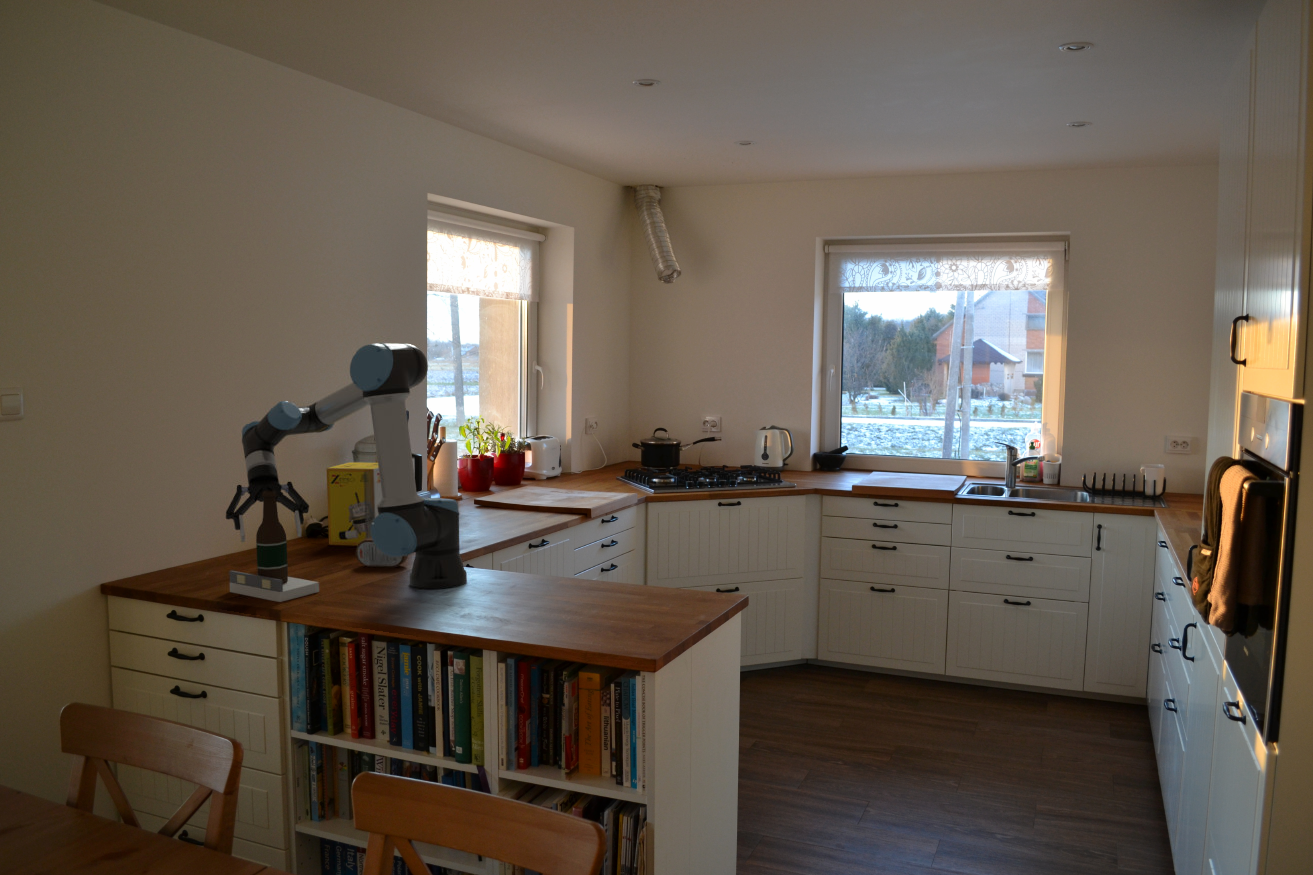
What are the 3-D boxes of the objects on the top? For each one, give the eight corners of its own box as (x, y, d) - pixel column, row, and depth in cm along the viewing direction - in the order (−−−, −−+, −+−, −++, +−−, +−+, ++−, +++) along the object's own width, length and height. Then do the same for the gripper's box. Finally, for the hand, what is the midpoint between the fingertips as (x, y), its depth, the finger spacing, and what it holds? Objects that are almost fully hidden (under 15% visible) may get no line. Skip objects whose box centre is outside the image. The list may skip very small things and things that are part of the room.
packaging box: (376, 546, 309) (373, 468, 307) (329, 544, 312) (326, 468, 309) (397, 536, 325) (395, 462, 323) (352, 535, 328) (350, 462, 325)
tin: (408, 566, 281) (408, 537, 281) (405, 568, 278) (404, 539, 277) (359, 565, 283) (358, 536, 282) (354, 567, 280) (353, 538, 279)
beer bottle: (252, 586, 247) (248, 494, 244) (263, 578, 255) (259, 488, 252) (283, 586, 247) (279, 494, 245) (293, 578, 255) (289, 488, 252)
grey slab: (319, 591, 252) (318, 570, 251) (279, 602, 241) (278, 580, 241) (269, 582, 262) (268, 562, 261) (229, 591, 252) (228, 571, 251)
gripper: (309, 477, 268) (320, 539, 256) (210, 483, 256) (218, 549, 244) (311, 460, 263) (323, 523, 251) (211, 465, 251) (219, 532, 239)
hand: (271, 536), depth 248 cm, fingers open, 13 cm apart
